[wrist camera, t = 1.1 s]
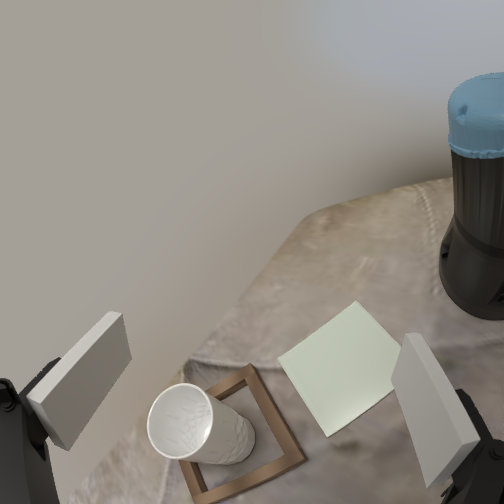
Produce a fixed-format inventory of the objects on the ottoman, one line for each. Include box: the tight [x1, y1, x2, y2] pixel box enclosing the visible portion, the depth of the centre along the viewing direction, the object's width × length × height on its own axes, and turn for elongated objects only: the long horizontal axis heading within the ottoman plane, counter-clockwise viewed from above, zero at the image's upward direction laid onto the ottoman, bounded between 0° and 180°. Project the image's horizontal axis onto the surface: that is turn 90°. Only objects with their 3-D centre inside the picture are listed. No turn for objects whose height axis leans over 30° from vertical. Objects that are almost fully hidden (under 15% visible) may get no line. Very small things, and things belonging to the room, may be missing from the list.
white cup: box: [147, 383, 255, 465], centre depth 27 cm, size 8×8×10 cm
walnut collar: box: [179, 363, 308, 504], centre depth 30 cm, size 14×14×2 cm
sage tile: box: [278, 301, 401, 437], centre depth 31 cm, size 12×12×1 cm
